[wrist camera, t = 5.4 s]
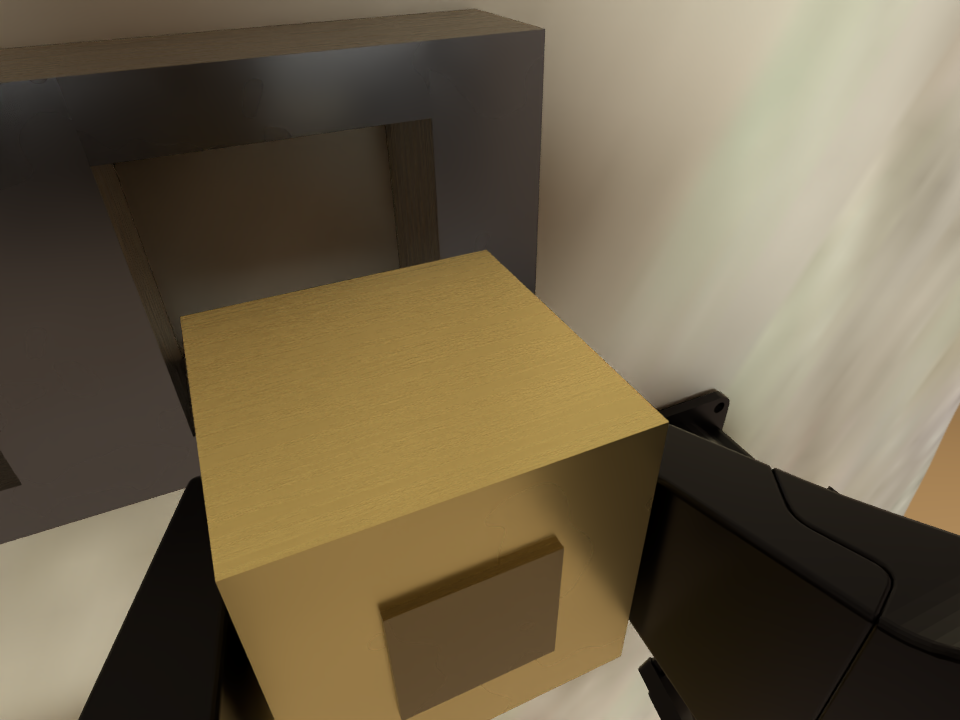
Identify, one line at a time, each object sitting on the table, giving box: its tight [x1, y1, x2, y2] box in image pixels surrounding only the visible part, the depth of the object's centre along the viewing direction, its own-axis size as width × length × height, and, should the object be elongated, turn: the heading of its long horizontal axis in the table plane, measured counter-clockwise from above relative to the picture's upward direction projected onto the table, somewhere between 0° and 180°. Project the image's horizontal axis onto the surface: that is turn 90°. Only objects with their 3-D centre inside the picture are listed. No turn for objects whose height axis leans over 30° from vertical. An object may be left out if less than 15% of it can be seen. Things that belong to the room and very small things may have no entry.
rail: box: [0, 9, 545, 544], centre depth 12 cm, size 18×8×3 cm, turn 91°
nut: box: [180, 250, 669, 720], centre depth 8 cm, size 4×4×4 cm
